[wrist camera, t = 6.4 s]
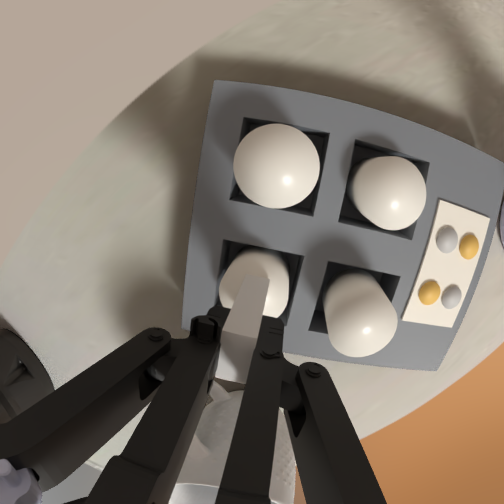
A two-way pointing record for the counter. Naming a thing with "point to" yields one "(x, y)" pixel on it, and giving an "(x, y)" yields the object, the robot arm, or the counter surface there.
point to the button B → (276, 166)
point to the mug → (216, 451)
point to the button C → (358, 313)
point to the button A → (260, 265)
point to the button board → (346, 221)
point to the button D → (387, 191)
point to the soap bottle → (502, 224)
